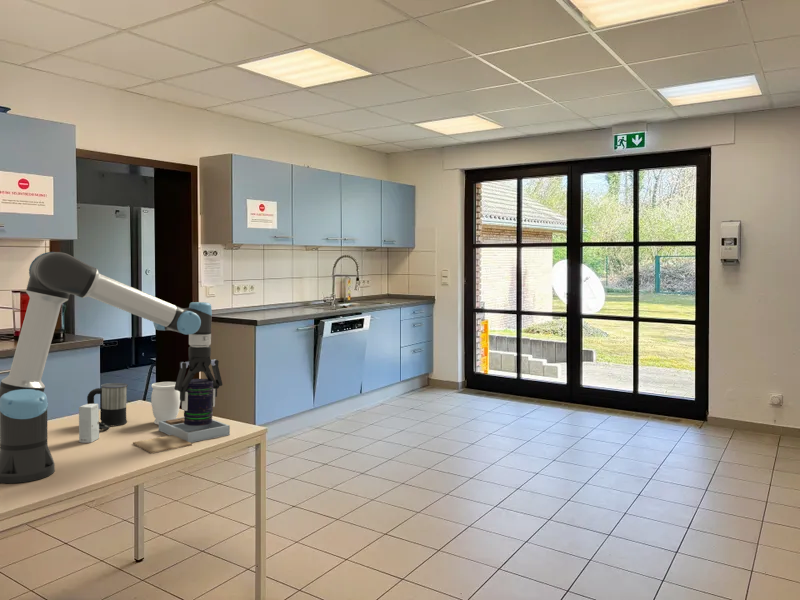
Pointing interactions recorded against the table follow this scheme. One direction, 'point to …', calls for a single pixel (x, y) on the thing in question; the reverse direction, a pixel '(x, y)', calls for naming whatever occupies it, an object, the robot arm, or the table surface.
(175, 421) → the block
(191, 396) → the rusty oil drum
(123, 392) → the milk frother
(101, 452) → the table surface
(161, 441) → the mat
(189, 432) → the tray
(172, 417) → the jar
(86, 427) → the skincare box
